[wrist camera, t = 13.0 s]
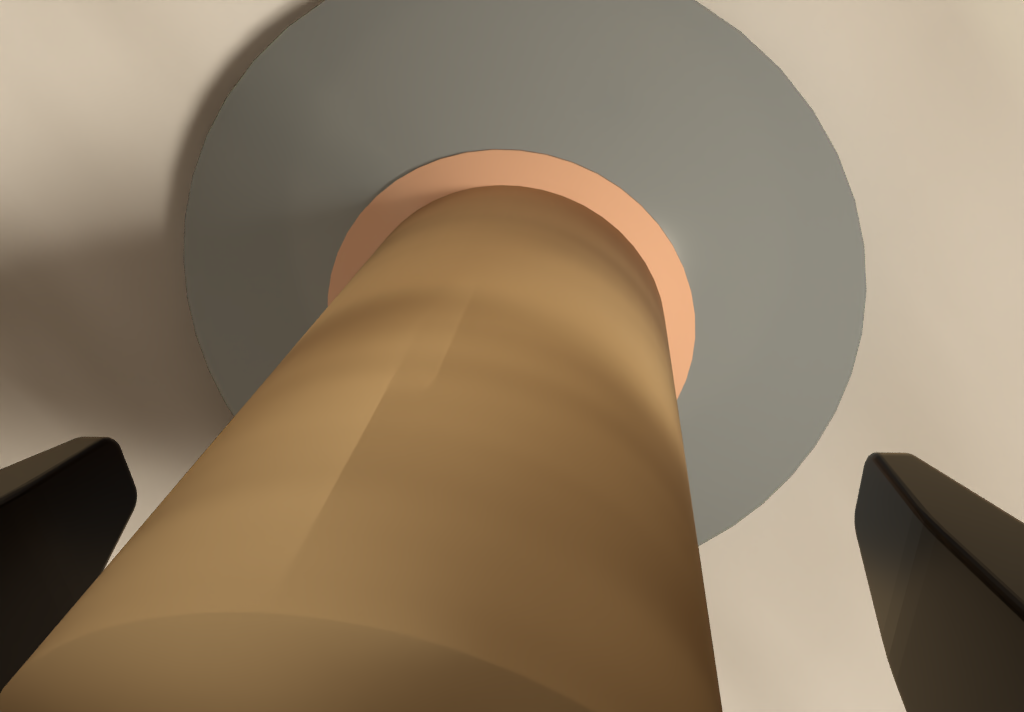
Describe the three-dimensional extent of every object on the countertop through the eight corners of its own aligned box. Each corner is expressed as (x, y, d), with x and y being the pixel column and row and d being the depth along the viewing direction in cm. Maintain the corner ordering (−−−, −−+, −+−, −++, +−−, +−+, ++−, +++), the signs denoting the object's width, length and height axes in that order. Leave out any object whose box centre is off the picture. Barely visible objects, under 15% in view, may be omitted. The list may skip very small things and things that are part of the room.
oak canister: (660, 465, 12) (720, 1095, 5) (383, 459, 13) (123, 1010, 6) (671, 179, 10) (799, 641, 3) (334, 190, 11) (-171, 587, 4)
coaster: (804, 564, 14) (815, 598, 13) (281, 542, 16) (264, 573, 15) (913, -82, 9) (942, -86, 8) (123, -20, 11) (84, -19, 10)
